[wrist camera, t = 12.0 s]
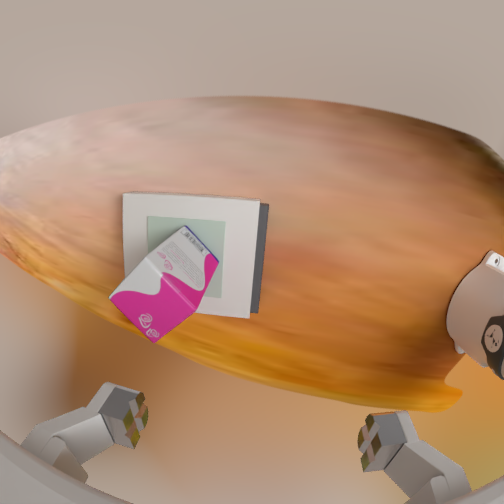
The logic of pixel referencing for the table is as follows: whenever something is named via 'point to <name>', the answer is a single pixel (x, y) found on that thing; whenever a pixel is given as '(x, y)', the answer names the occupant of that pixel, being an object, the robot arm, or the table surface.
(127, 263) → the dock
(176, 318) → the supplement box
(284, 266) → the table surface
